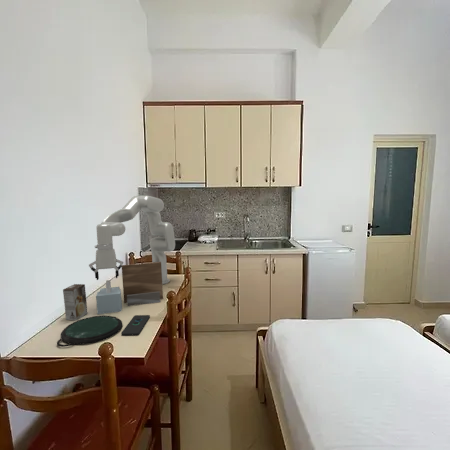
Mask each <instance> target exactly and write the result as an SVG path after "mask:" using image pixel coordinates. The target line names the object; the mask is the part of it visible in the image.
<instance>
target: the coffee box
mask: <svg viewBox="0 0 450 450" xmlns="http://www.w3.org/2000/svg"><path fill="white" fill-rule="evenodd" d="M62 293H63V303H64V310H65V312H64V313H65V320H66V321H78V320H80V319H81V318H83V317H84V316H86V315H87V314H88V305H87V303H88V302H87V293H86V284H83V283H80V284H79V283H78V284H77V283H76V284H75V283H74V284H71V285H70V286H67V287H66V288H64V289H62Z"/></svg>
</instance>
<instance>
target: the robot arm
mask: <svg viewBox="0 0 450 450" xmlns="http://www.w3.org/2000/svg"><path fill="white" fill-rule="evenodd" d="M164 208H165V204H164V201H163V200H162V198H159V197H156V196H150V195H134V196H133V197H131V199H129V200H128V202H127V203H126V204H125V205H124V206H123V207H121V209H119V210H117V211H115V212H112V213H111V214H108V216H107V217H105V218H104V219H103V220H102V221H101V222H100V224H97V225H96V239H97V242H96V243H97V244H96V245H94V249H97V250H96V252H95V260H94V261H92V262H91V263H89V264H88V267H89V268H90V270H91V271H93V273H94V276H95V279H96V281H98V280H99V279H100V278H99V275H100V274H99V270H110V269H114V270H115V279H118V277H119V276H120V275H119V273H120V272H119V271H120V269H122V265H124V261H122V260H121V259H120V260H119V259H118V258H117V255H116V251H115V248H114V243H113V241H114V240H113V237H119V236H120V237H121V236H123V235H124V234H125V232H126V226H125V224H124V223H125V222H128V221H132V220H133V219H134V218H135V217H136V216H137V215H138V213H140V211H142V212H143V213H144V214H145V215H146V216H147V220H148V227H149V232H150V234H151V236H154V237H152V238H151V239H150V242H149V248H150V251H151V258H152V259H151V260H152V261H151V263H153V262H161V269H162V285H166V284H168V282H171V280H170V278H168V267H167V255H166V253H167V252H169V253H172V252H173V251H174V250H175V248H176V239H175V238H176V237H175V232H174V231H175V230H174V226H173V224H172V223H171V222H168V221H167V222H166V221H162V215H161V213H160V212H162V211H163V210H164ZM165 252H166V253H165ZM117 263H118V264H119V265H117ZM94 265H95V267H94Z"/></svg>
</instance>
